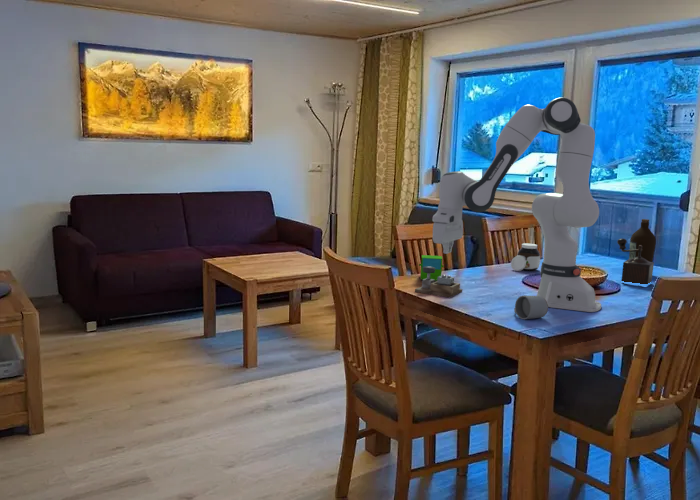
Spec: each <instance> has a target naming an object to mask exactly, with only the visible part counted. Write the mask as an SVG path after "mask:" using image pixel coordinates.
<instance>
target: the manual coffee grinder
mask: <svg viewBox="0 0 700 500" xmlns="http://www.w3.org/2000/svg"><path fill="white" fill-rule="evenodd" d="M627 243H628V241H627V239H626V238H619V239H617V245H618V246H619V248H618V249H619V250H621V252H624V253H625V252H626V253H629V252H634V251H639V253H638V257H635V258H632V259H629V258H628V259H626V260H625V261H623V263H622V272H621V273H622V274H621V281H624V282H632V283H640V284H648V283H650V282H651V281H652V280H653V275H654V274H653V271H654V267H655V265H654V264H655V262H649V261H647V260H646V259H644V258H642V256H641V250H642V245H639V248H638V249H636V250H630V249H627V247H626V244H627ZM621 281H620V282H621ZM651 283H652V282H651Z"/></svg>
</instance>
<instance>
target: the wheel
mask: <svg viewBox="0 0 700 500" xmlns="http://www.w3.org/2000/svg"><path fill="white" fill-rule="evenodd" d="M423 272H425V273H427V280H430V273H435V267H429V266H428V267H423Z"/></svg>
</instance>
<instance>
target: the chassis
mask: <svg viewBox="0 0 700 500" xmlns="http://www.w3.org/2000/svg"><path fill="white" fill-rule="evenodd" d="M415 292H416V293H419V292H421V294H425V293H426V294H427V295H431V294H433V296H437V295H439V296H438V297H443V296H444V297H445V298H449V297H450V298H452V297H455V296H456V295H459V294H460V293H462V292H463V289H462V288H461V283H458V282H454V285H453V286H445V285H439V284H437V280H434V279H430V280H427V278H426V279H423V280H422V281H421V286H419V287H416V288H415V289H414V293H415ZM444 297H443V298H444Z"/></svg>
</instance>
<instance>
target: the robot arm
mask: <svg viewBox="0 0 700 500" xmlns="http://www.w3.org/2000/svg"><path fill="white" fill-rule="evenodd" d="M540 132H542V133H545V134H548V135H553V136H560V137H561V146H560V150H559V156H558V160H557V164H556V170H555V176H556V178H557V179H558V181H560V182H561V183H562V188H563V193H558V192H546V193H541V194H540V193H539V194H538V195H537V196H536V197H534V199H533V201H532V204H531V213H532V215H533V217H534V218H535V220H537V222H538V224H539V226H540V228H541V231H542V235H543V241H544V243H543V244H544V245H543V260H542V262H541V266H540V282H539V287H538V290H537V293H536V296H541V297H543V298H544V299H545V300H546V301H547V304H548V308H553V309H563V310H571V311H579V312H588V313H594V312H598V311H600V310H601V309H602V303H600V302H599V301H596V292H595V289H594V287H592V285H590V283H588V282H587V281H586V280H585V279H584V278H582V276H581V274H582V267H581V266H578V265H576V263H577V254H578V253H577V252H578V242H577V241H576V240H575V238H573V237H572V235H571V234H570V231H569V228H570V227H571V228H589V227H592V226H594V224H595V223H596V222H597V221H598V219H599V216H600V208H599V204H598V202H597V201H596V200H595V199H594V197H593V195H592V193H591V190H590V184H589V182H590V181H589V179H590V172H591V166H592V162H593V157H594V152H595V142H596V132H595V129H594V128H593V127H592V126H591V125H589V124H587V123H583V122H581V117H580V114H579V112H578V109H577V106H576V104H575V103H574V102H573V101H572V100H571V99H570V98H567V97H557V98H554V99H552V100H551V101H549V103H548V104H547V105H546V106H545V108H539V107H536V106H535V105H532V104H525V105H522V106H521V107H520V108H519V109H518V110H517V111H516V112H515V113H514V114H513V115H512V116H511V117H510V119H509V120H508V121H507V123H506V124H505V125H504V127H503V129H502V130H501V132H500V133H499V135H498V138H497V140H496V141H495V156H494V158H493V160H492V162H491V163H490V165H489V166H488V168H487V169H486V171H485V172H484V174H483V175H482V177H481V178H480V179H479V180H476V179H474V178H471V177H470V176H467V174H465V173H464V172H463V171H459V170H458V171H450V172H446V173H444V174H443V175H442V176H441V178H440V182H439V190H438V198H439V203H438V206H437V211H436V212H435V214H433V216H432V219H431V220H432V222H433V224H432V241H433V243H434V244H440V245H442V249H443V251H442V252H443V254H447V255H448V254H450V253H452V252H453V251H452V249H453V246H454V241H457V240H460V239H462V238H463V236H464V221H463V207H464V206H466V207H467V208H468V209H469V210H471V211H472V212H475V213H483V212H485V211H487V210H488V209H490V208H491V207H492V205H493V204H494V202H495V197H496V192H497V190H498V188H499V186H500V184H501V183H502V181H503V180H504V178H505V177H506V175H507V173H508V172H509V170H510V169H511V167H512V166H514V163H516V162H517V161H518V159H519V158H520V157H521V156H522V155H523V154H524V153H525V152H526V150H527V149H528V148H529V146H530V145H531V144H532V143H533V141H534V139H535V138H536V136H537V135H538V134H539V133H540ZM568 227H569V228H568Z"/></svg>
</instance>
